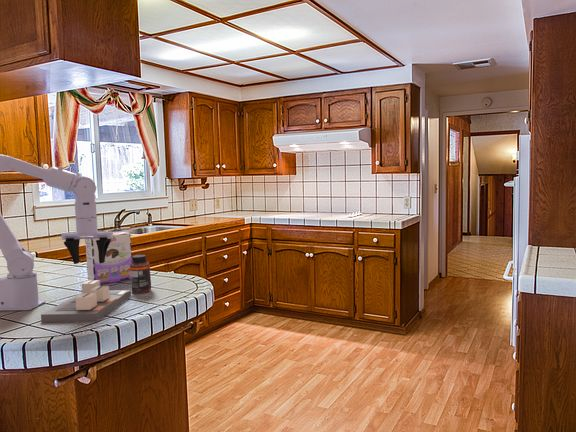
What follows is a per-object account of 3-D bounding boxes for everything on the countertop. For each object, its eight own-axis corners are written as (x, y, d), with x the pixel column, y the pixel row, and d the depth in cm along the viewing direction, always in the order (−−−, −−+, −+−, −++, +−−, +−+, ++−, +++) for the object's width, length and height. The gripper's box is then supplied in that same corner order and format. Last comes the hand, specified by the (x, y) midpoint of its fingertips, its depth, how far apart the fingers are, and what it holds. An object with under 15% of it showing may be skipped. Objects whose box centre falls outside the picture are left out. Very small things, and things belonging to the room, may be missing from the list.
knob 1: (82, 294, 131) (81, 283, 131) (88, 291, 135) (88, 280, 135) (94, 294, 131) (93, 283, 130) (100, 290, 135) (99, 279, 134)
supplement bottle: (144, 288, 147) (142, 253, 146) (155, 290, 143) (153, 255, 142) (127, 292, 142) (125, 256, 141) (138, 295, 138) (136, 258, 137)
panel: (41, 322, 114) (40, 313, 114) (85, 297, 137) (84, 289, 137) (96, 321, 114) (95, 312, 114) (131, 296, 137) (130, 289, 136)
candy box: (126, 276, 165) (123, 231, 163) (133, 278, 161) (131, 232, 159) (87, 283, 155) (84, 235, 154) (94, 286, 151) (91, 237, 150)
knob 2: (90, 301, 123) (89, 289, 123) (97, 297, 127) (96, 286, 127) (103, 301, 123) (102, 289, 123) (109, 297, 127) (109, 285, 127)
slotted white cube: (76, 310, 116) (75, 297, 115) (83, 305, 120) (83, 293, 119) (90, 309, 116) (89, 297, 115) (97, 305, 120) (96, 292, 119)
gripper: (54, 219, 131) (58, 266, 132) (104, 218, 131) (107, 265, 132) (67, 217, 138) (70, 261, 139) (114, 216, 138) (117, 260, 139)
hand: (89, 263), depth 136 cm, fingers open, 7 cm apart
